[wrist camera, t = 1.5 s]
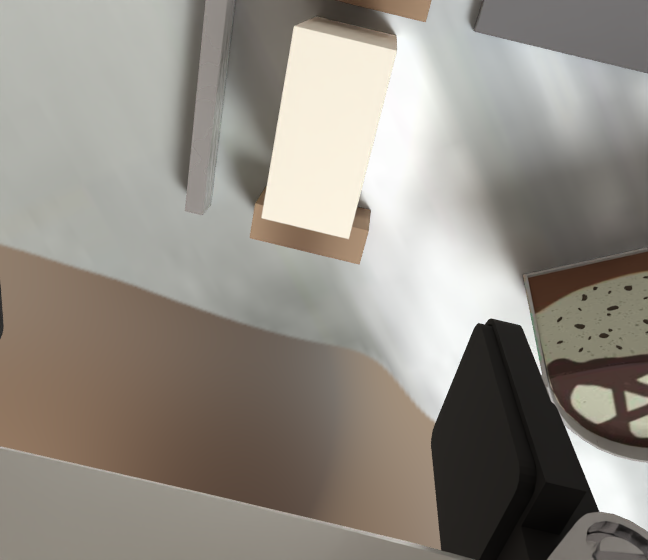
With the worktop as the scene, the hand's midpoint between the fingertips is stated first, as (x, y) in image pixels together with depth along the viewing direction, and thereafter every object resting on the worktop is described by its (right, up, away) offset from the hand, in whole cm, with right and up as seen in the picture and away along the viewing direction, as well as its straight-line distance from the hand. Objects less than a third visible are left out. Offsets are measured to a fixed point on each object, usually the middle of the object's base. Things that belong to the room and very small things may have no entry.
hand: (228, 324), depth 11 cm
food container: (+19, 0, +22) cm, 29 cm away
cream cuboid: (+3, +10, +18) cm, 21 cm away
